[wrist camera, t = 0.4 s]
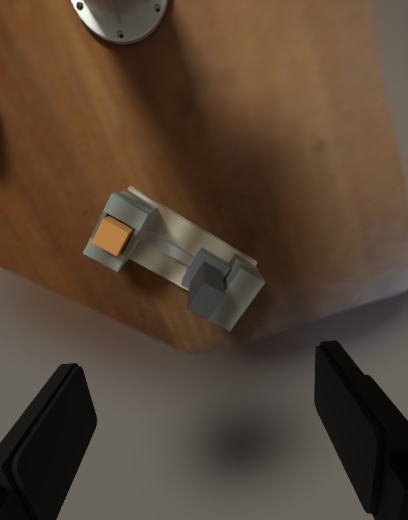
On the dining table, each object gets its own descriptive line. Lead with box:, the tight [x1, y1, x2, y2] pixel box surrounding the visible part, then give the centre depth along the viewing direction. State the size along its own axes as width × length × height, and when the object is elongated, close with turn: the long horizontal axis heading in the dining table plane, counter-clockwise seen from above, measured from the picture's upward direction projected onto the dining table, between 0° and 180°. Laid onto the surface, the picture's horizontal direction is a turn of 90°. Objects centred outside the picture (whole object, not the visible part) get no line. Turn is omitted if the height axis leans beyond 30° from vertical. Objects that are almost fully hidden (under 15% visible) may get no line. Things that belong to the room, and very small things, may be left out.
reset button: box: [92, 216, 133, 256], centre depth 34 cm, size 3×3×2 cm
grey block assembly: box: [83, 186, 265, 331], centre depth 40 cm, size 23×10×8 cm, turn 59°
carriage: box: [181, 247, 231, 320], centre depth 37 cm, size 5×6×12 cm
